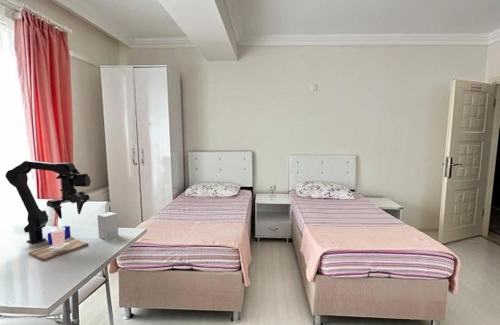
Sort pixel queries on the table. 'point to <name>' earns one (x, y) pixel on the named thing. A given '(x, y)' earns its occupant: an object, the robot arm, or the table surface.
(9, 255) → the table surface
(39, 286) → the table surface
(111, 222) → the supplement box
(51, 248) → the board
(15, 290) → the table surface
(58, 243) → the beverage cup
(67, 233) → the cable clip
